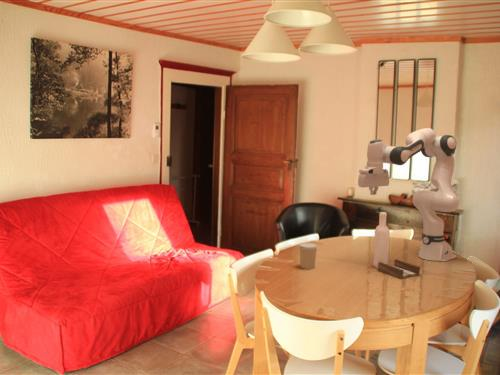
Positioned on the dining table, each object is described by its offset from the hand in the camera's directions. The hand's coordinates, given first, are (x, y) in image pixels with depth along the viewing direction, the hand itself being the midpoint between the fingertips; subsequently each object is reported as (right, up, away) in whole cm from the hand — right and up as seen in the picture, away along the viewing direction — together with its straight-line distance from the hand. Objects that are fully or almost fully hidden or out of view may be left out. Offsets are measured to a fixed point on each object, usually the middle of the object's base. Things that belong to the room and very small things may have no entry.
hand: (373, 194), depth 279 cm
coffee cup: (-37, -39, -4) cm, 54 cm away
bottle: (+3, -39, -2) cm, 40 cm away
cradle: (+10, -41, -13) cm, 44 cm away
